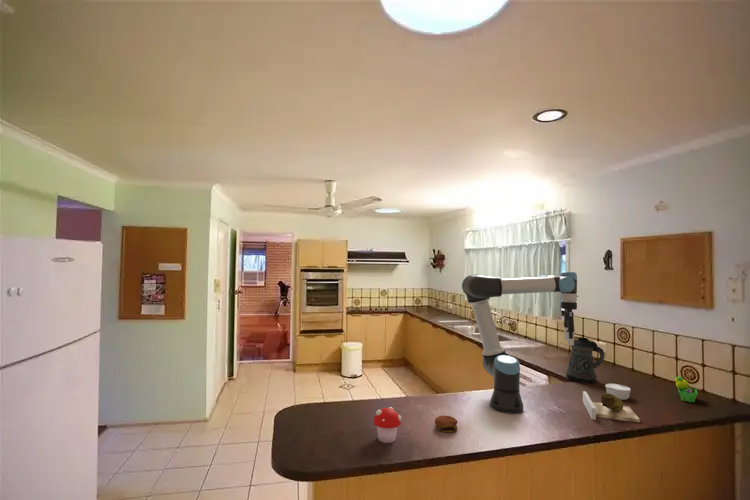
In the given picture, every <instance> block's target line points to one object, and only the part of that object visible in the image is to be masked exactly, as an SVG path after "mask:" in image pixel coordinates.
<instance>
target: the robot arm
mask: <svg viewBox="0 0 750 500" xmlns="http://www.w3.org/2000/svg"><path fill="white" fill-rule="evenodd" d="M461 289H462V292H463V293H464V294H465V296H466V297H465V298H466V301H467V303H468V304H470V305H471V307H472V311H473V315H474V318H475V321H476V326H477V331H478V333H479V335H480V337H479V338H480V340H481V343H482V347H483V350H482V351H481V355H482V365H483V368H484V370H485V371H486V373H488V374H489V375H491V377H493V391H492V394H491V397H490V400H489V401H490V402H489V406H490V408H491V409H493V410H494V411H497V412H500V413H506V414H520V413H522V412H523V411H524V403H523V402H524V401H523V399H522V396H521V393H520V389H521V387H520V386H521V385H520V384H521V383H520V379H521V378H520V375H521V374H520V373H521V372H520V371H521V366H520V365H521V364H520V361H519V359H517V358H516V357H513V356H511V355H507V353H506V350H505V348H504V347H503V346H501V342H500V339H499V336H498V332H497V328H496V324H495V321H494V318H493V317H494V316H493V314H492V310H491V306H490V303H489V301H490V299H491V298H499V297H500V298H501V297H502V296H503V295H520V294H538V293H539V294H540V293H541V294H542V293H560V301H561V302H560V309H563V311H564V313H563V314H564V316H563V340H564V341H567V345H568V346H571V345H574V341H575V337H574V333H575V320H574V316H575V315H574V312H573V310H577V309H578V302H577V301H578V297H579V295H578V275H577V272H576V271H561V273H560V275H556V274H555V275H554V274H553V275H552V274H551V275H550V274H548V275H547V274H543V275H542V274H541V275H539V276H537V277H536V276H535V277H520V278H519V277H515V278H501V277H500V276H487V275H480V274H474V273H473V274H469V275H467V276H466V277H464V279H463V280H462V283H461Z"/></svg>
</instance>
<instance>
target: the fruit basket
mask: <svg viewBox="0 0 750 500" xmlns="http://www.w3.org/2000/svg"><path fill="white" fill-rule="evenodd" d="M674 380H675V386H676V387H677V390H678V393H679V397H680V400H681V402H682V401H683V402H686V401H688V403H692V402H694V403H695V402H696V398H697V396H698V390H697V388H695V387H690V386H689V385H690V383H689V381H687V380H685V379H684V378H683V377H682V376H676V378H675V379H674Z"/></svg>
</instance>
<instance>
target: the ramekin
mask: <svg viewBox="0 0 750 500" xmlns="http://www.w3.org/2000/svg"><path fill="white" fill-rule="evenodd" d="M604 386H605V389H606V393H610V394H612V395H614V396H615V397H617V398H619V399H620V400H621V401H622V400H623V401H624V400H628V399H629V398H630V394H631V391H632V389H631V388H630V387H629V386H626V385H623V384H618V383H606V384H605V385H604Z"/></svg>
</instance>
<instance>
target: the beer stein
mask: <svg viewBox="0 0 750 500" xmlns="http://www.w3.org/2000/svg"><path fill="white" fill-rule="evenodd" d="M570 348H571V351H570V356H569V362H568V366H567V369H566V370H565V376H566V379H567V380H569V381H571V382H575V383H578V384H595V383H596V382H597V379H598V378H597V374H596V371H595V369H596V368H598V367H600V366H601V364H602V363H603V362H604V360H605V351H604V349H603V348H601V346H598V344H597V343H596V342H595V341H593V340H590V339H589V338H588V337H579V336H578V338H577V339H576V340H575V339H574V345H570ZM593 352H597V353H598V354H599V358H598V359H597V361H595V362H594V358H593V357H594V356H593Z"/></svg>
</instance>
